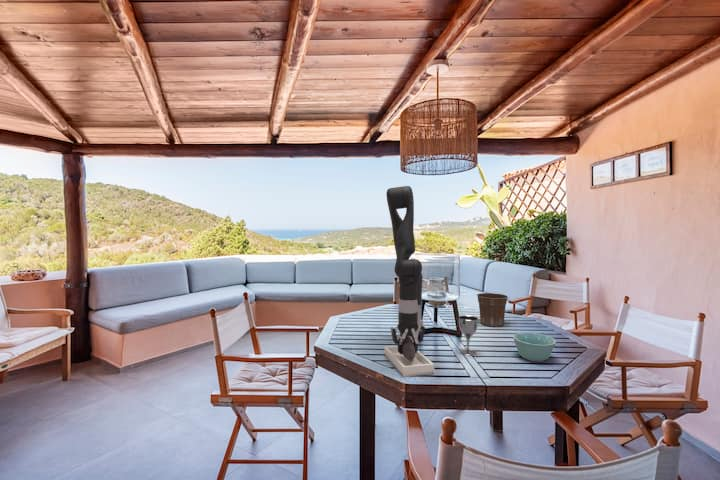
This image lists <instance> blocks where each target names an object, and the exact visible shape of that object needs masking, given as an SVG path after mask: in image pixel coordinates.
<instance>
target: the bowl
mask: <svg viewBox="0 0 720 480" xmlns="http://www.w3.org/2000/svg"><path fill="white" fill-rule="evenodd" d="M512 338H513V341H514V344H515V346H516V349H517V352H518V354H519V355H520V356H521V357H522V358H523V359H524V360H527V361H531V362H537V363H539V362H540V363H541V362H544V361H546V360H548V359H550V357H551V354H552V352H553V349H554V348H555V346H556V343H557V341H556V339H555V338H553V337H551V336H549V335H546V334H541V333H538V332H537V333H535V332H518V333H514V334H513V337H512Z"/></svg>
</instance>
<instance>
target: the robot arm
mask: <svg viewBox="0 0 720 480" xmlns="http://www.w3.org/2000/svg"><path fill="white" fill-rule="evenodd" d="M386 201H387V202H386V203H387V207H388V212H389V215H390V221H391V227H392V236H393V237H392V238H393V245H394V250H395V254H396V260H395V265H394V273H395V276H397V278H398V284H399V288H398V306H397V307H398V308H397V311H398V312H397V313H398V315H397V316H398V320H397V323H398V324H397V326H396V327H390V333H391V339H392V342H393V343H394V344H395V345H397V346H398V352H399V353H400V354H403V350H402V348H403V345H402V343H403V340H404V339H405V337H408V336H409V337H410V338H411V340H412V342H413V344H414V347H415V353H417V351H419V343H422V342H423V341H424V336H425V331H426V326H424V320H423V319H422V300H423V299H422V298H423V297H422V296H423V295H422V294H423V272H422V271H423V265H422V263H421V261H420V260H419V259H415V258H413V259H412V258H411V257H412V255H413V254H415V253H416V242H415V235H414V234H415V233H414V221H415V218H414V217H415V213H414V212H415V209H414V207H415V206H414V205H415V204H414V203H415V202H414V201H415V200H414V193H413V189H412V187H411V186H409V185H404V186H398V187H396V186H395V187H390V188H387V190H386ZM399 209H405V210H406V211H405V216H404V217H403V219H402V218H401V216H400V214H399V212H398V210H399ZM410 258H411V259H410ZM398 332H399V333H398ZM397 334H398V337H397Z"/></svg>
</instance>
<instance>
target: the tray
mask: <svg viewBox="0 0 720 480" xmlns="http://www.w3.org/2000/svg"><path fill="white" fill-rule="evenodd" d="M384 357H386V359H387V360H388V361H389V363H391V364H392V367H394V368H395V370H396V371H398V372H399V374H400V375H401V376H402V378H406V377H407V378H408V377H415V376H417V377H418V376H427V375H435V363H434V362H432V361H431V360H430V359H428V358H427V356H425V355H424V354H423V353H421V351H419V350H418V351H417V353H415V357H414V359H413V360H412V361H409V360H407V359H406V358H405V357H404V356H403V354H400V353H399V352H398V345H395V346H384Z"/></svg>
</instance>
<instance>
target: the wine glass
mask: <svg viewBox="0 0 720 480" xmlns="http://www.w3.org/2000/svg"><path fill="white" fill-rule="evenodd" d="M478 325H479V318H478V317H477V316H475V315H459V316H458V326H459V331H460V332H461V333H462V335H463V336H464V337H465V340H466V349H460V350H459V354H461V355H465V356H475V355H477V354H478V353H477V352H476V351H475V350H473V349H470V341H471V338H472V337H473V336H474V335H475V334H476V332H477V331H478V327H479V326H478Z"/></svg>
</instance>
